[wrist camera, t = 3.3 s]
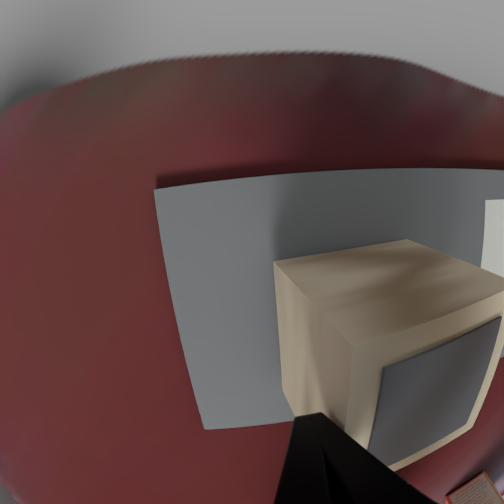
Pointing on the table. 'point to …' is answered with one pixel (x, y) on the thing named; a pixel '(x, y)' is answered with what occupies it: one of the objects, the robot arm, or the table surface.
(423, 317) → the birch cube
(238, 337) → the mat
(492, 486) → the cracker box
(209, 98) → the table surface
